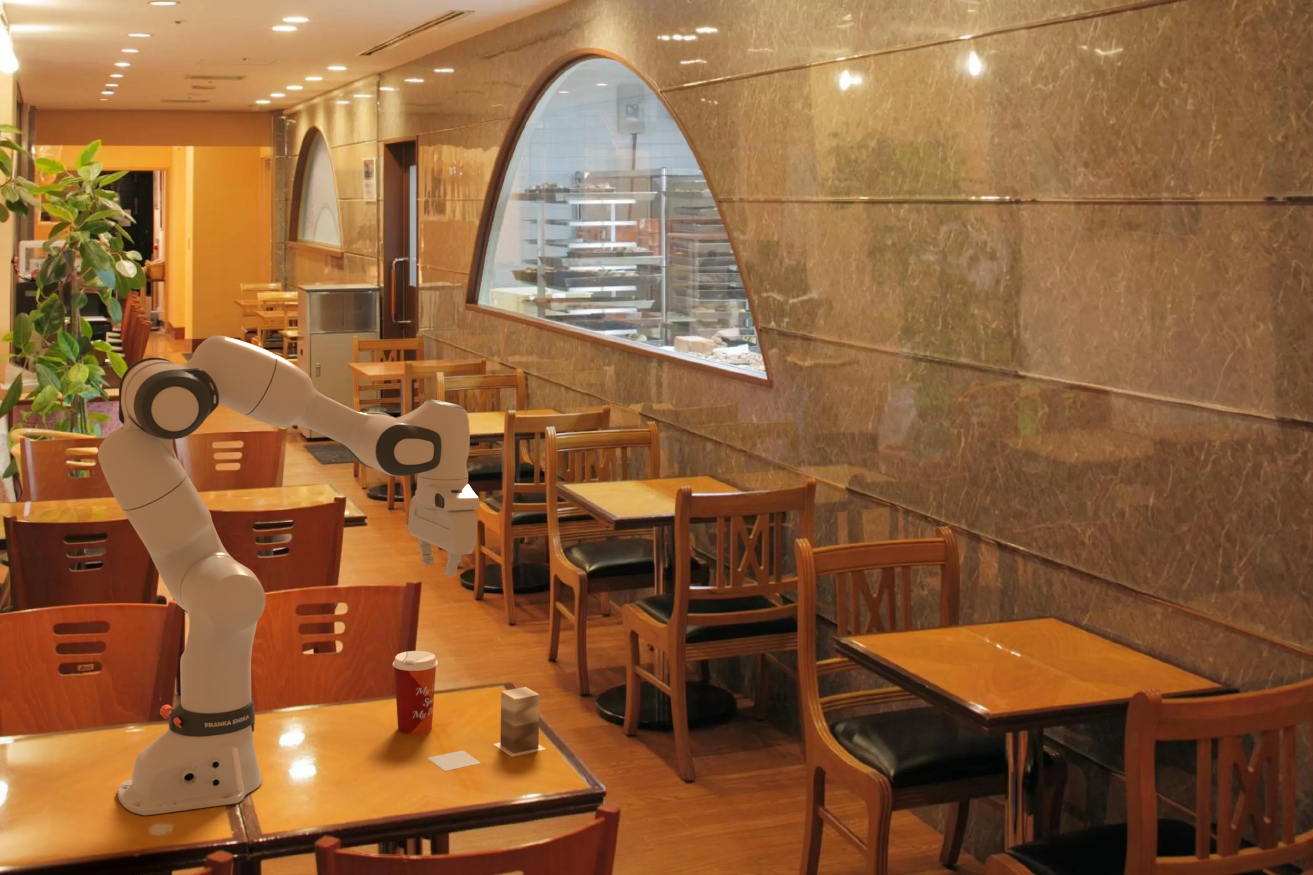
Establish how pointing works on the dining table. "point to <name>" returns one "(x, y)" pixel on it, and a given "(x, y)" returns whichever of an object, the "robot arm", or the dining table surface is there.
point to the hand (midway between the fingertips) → (438, 569)
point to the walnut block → (519, 736)
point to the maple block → (520, 706)
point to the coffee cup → (415, 690)
